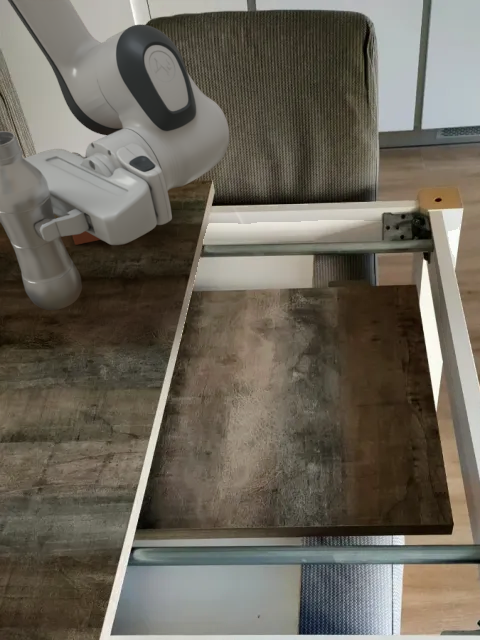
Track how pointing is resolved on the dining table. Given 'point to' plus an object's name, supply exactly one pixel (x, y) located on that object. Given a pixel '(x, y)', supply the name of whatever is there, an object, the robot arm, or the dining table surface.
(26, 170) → the plastic bottle
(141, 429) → the dining table surface
